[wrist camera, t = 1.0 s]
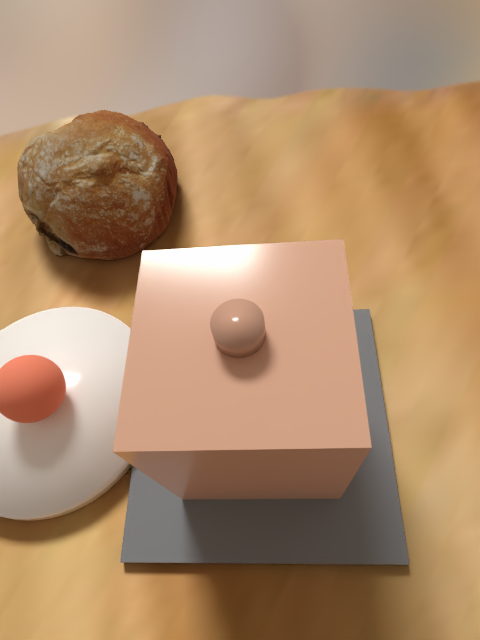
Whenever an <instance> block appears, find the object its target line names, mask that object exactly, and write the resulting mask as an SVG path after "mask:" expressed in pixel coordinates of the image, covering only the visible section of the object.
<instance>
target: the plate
mask: <svg viewBox="0 0 480 640" xmlns="http://www.w3.org/2000/svg"><path fill="white" fill-rule="evenodd" d="M130 330H131V329H130V328H129V327H128V326H127V325H125V324H124V323H123V322H122V321H120V320H119V319H117V318H115V317H113V316H112V315H110V314H107V313H104V312H102V311H99V310H95V309H90V308H83V307H62V308H54V309H49V310H45V311H41V312H38V313H35V314H32V315H29V316H27V317H25V318H22V319H20V320H18V321H16V322H14V323H12V324H11V325H9V326H7V327H6V328H4V329H2V330H1V331H0V368H1V367H2V366H3V365H4V364H6V363H7V362H8V361H10V360H12V359H14V358H16V357H19V356H23V355H39V356H43V357H45V358H48V359H50V360H51V361H53V362H54V363H55V364H57V365H58V367H59V368H60V369H61V371H62V373H63V374H64V377H65V381H66V393H65V397H64V399H63V401H62V403H61V405H60V406H59V408H58V409H57V410H56V411H55V412H54V413H53V414H52V415H50V416H49V417H47V418H45V419H43V420H41V421H38V422H34V423H20V422H15V421H12V420H10V419H8V418H6V417H5V416H3V415H2V414H1V413H0V517H4V518H10V519H15V520H23V521H37V520H46V519H51V518H55V517H59V516H63V515H66V514H68V513H71V512H73V511H76V510H78V509H80V508H82V507H84V506H86V505H88V504H90V503H91V502H93V501H95V500H96V499H97V498H99V497H100V496H102V495H103V494H104V493H106V492H107V491H108V490H109V489H111V488H112V487H113V486H114V485H115V484H116V483H117V482H118V481H119V480H120V479H121V478H122V477H123V476H124V475H125V474H126V472H127V471H128V470H129V469H130V468H131V466H132V465H131V464H130V463H128V462H127V461H125V460H124V459H122V458H121V457H119V456H118V455H116V454H115V453H114V452H113V445H114V438H115V432H116V425H117V418H118V411H119V405H120V398H121V391H122V384H123V378H124V371H125V364H126V357H127V351H128V344H129V337H130Z"/></svg>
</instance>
